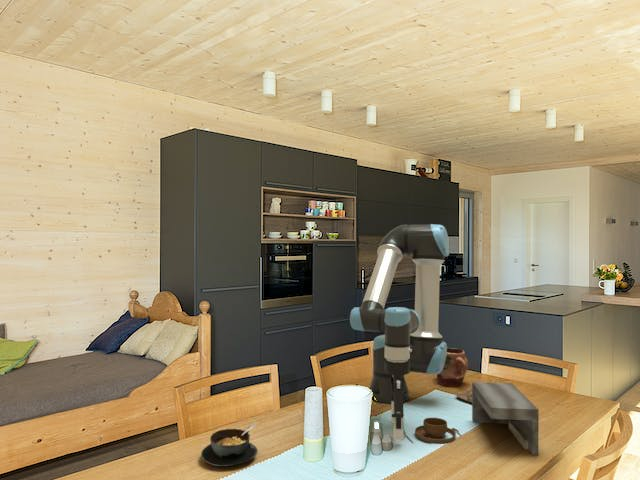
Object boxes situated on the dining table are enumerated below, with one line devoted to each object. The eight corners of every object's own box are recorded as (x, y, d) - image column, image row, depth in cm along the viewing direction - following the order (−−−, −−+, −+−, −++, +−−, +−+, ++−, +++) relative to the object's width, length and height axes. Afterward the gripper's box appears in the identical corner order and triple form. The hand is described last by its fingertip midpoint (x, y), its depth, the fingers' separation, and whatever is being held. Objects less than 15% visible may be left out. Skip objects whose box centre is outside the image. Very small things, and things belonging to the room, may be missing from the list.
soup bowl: (199, 448, 141) (199, 422, 141) (256, 442, 146) (256, 416, 146) (202, 472, 127) (202, 442, 127) (265, 464, 131) (265, 436, 131)
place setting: (414, 448, 143) (415, 427, 143) (390, 423, 163) (390, 404, 163) (471, 443, 147) (471, 422, 147) (440, 419, 166) (440, 401, 166)
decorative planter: (480, 389, 198) (480, 354, 198) (454, 393, 193) (454, 356, 194) (450, 376, 216) (450, 344, 216) (426, 379, 212) (426, 346, 212)
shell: (474, 394, 193) (475, 384, 193) (501, 403, 182) (502, 393, 182) (452, 397, 187) (453, 387, 187) (479, 407, 176) (479, 397, 176)
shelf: (491, 453, 138) (491, 407, 138) (472, 420, 164) (472, 382, 164) (538, 455, 137) (538, 409, 137) (511, 422, 162) (512, 383, 163)
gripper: (413, 370, 139) (413, 447, 139) (406, 350, 164) (406, 416, 164) (386, 369, 140) (385, 446, 140) (383, 350, 164) (383, 415, 164)
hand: (396, 430), depth 152 cm, fingers open, 13 cm apart
